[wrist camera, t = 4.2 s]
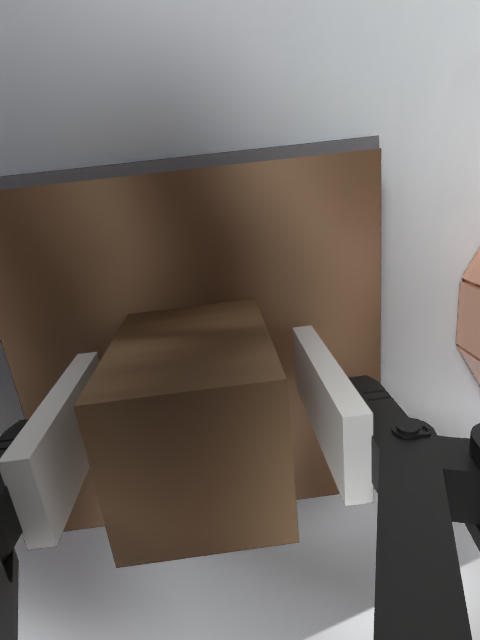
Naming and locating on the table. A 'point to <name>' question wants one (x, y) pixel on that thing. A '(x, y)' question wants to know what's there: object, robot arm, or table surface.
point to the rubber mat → (188, 162)
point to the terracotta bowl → (470, 317)
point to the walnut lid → (194, 337)
